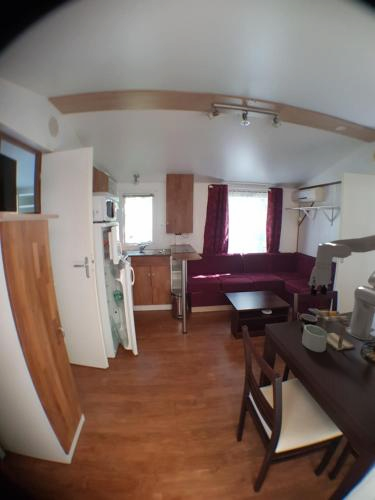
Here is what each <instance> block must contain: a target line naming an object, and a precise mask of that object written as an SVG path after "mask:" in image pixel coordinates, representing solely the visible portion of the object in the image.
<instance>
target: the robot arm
mask: <svg viewBox="0 0 375 500" xmlns="http://www.w3.org/2000/svg"><path fill="white" fill-rule="evenodd" d="M316 251H317V252H316V257H315V264H314V267H313V268H312V270H311V274H310V278H309V281H308V282H307V284H308V285H309V287H310V295H311V296H313V297H316V296H317V294H318V293H317V292H318V286H321V287H320V293H319V294H320V295H323V296H326V295H327V291H328V289H329V287H330V286H331V284H332V283H333V281H332V280H331V279H332V264H333V259H334V258H338V259H346V258H349V256H351V255H352V253H367V252H371V251H372V252H373V251H375V234H372V235H369V236H368V235H367V236H364V237H359V238H358V237H357V238H349V239H348V238H347V239H337V240H331V241H328V242H325V243H319V244H318V246H317V250H316ZM367 283H368V285H370V286H372V287H370V286H367V285H358V286H357V287H356V288H355V290H354V293H353V295H354V296H353V297H354V303H353V304H354V305H353V309H352V312H351V318H350V322H349V326H348V327H346V328H345V331H346V333H347V334H348V335H349V336H351V337H354V338H355V339H358V340H362V341H369V342H370V341H372V340H373V338H374V336H373V335H372V334H371V333H372V332H373V333H374V332H375V329H374V328H373V327H372V326H373V321H374V317H375V270H374V271H373V272H372V274H370V275H369V278H368V280H367ZM373 287H374V288H373Z"/></svg>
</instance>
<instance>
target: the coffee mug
mask: <svg viewBox="0 0 375 500" xmlns="http://www.w3.org/2000/svg"><path fill="white" fill-rule="evenodd" d="M300 316H301V317H300ZM297 318H298V319H299V322H300V328H301V329H300V331H301V333H303V331H304V325H314V326H317V322H318V318H317V317H316V316H314V315H311V314H308V313H298V315H297Z"/></svg>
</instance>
